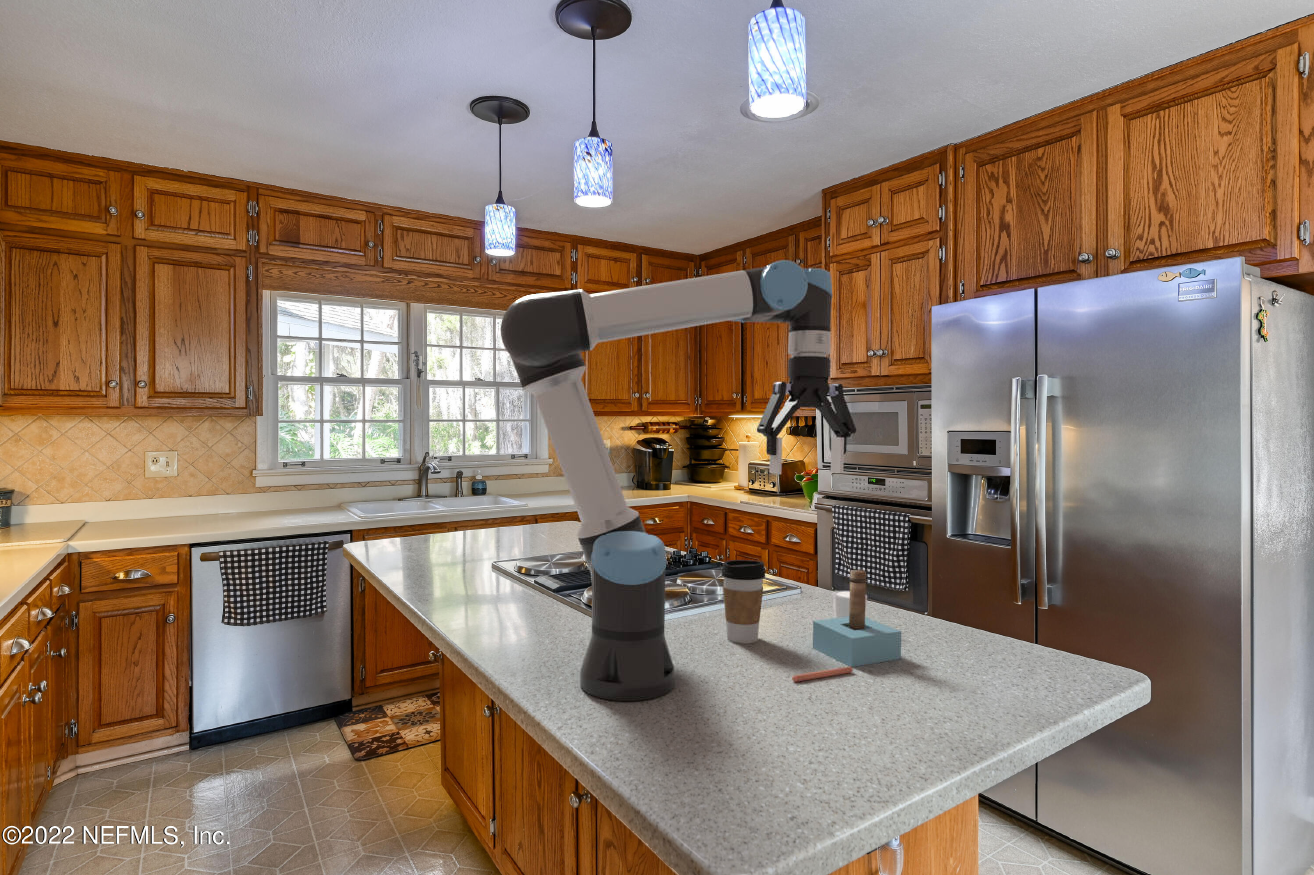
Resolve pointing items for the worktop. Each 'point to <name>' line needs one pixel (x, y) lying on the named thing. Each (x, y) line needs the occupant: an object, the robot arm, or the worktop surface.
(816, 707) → the worktop surface
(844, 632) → the blue square hole block
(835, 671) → the salmon red rod
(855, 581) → the round wooden peg
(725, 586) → the coffee cup
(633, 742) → the worktop surface
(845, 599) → the white cylinder
